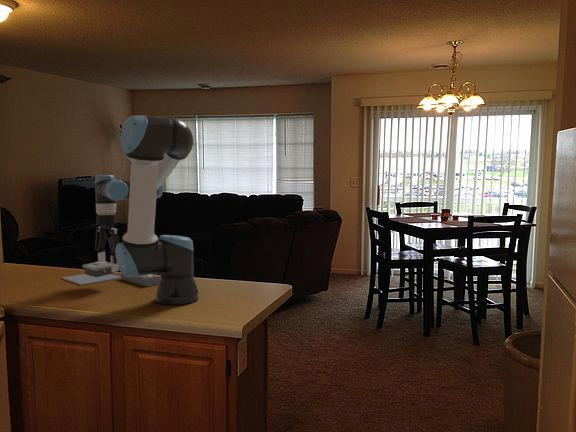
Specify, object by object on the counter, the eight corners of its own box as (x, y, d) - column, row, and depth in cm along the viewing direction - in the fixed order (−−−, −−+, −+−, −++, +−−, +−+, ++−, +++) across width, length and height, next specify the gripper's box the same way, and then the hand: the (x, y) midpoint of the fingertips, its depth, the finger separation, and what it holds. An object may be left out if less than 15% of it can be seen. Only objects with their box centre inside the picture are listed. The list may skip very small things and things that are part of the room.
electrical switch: (117, 264, 199) (95, 264, 191) (115, 277, 199) (93, 277, 191) (103, 260, 204) (82, 260, 197) (101, 273, 204) (80, 273, 197)
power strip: (159, 284, 206) (159, 274, 205) (146, 287, 201) (146, 277, 201) (133, 277, 219) (133, 267, 219) (121, 279, 215) (120, 269, 214)
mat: (122, 278, 216) (122, 277, 216) (81, 285, 203) (81, 284, 203) (101, 272, 228) (101, 271, 228) (61, 278, 215) (61, 277, 215)
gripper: (129, 214, 195) (131, 272, 196) (101, 212, 210) (103, 265, 211) (111, 216, 189) (113, 274, 191) (84, 213, 204) (86, 267, 206)
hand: (108, 269), depth 201 cm, fingers closed on electrical switch, 10 cm apart
